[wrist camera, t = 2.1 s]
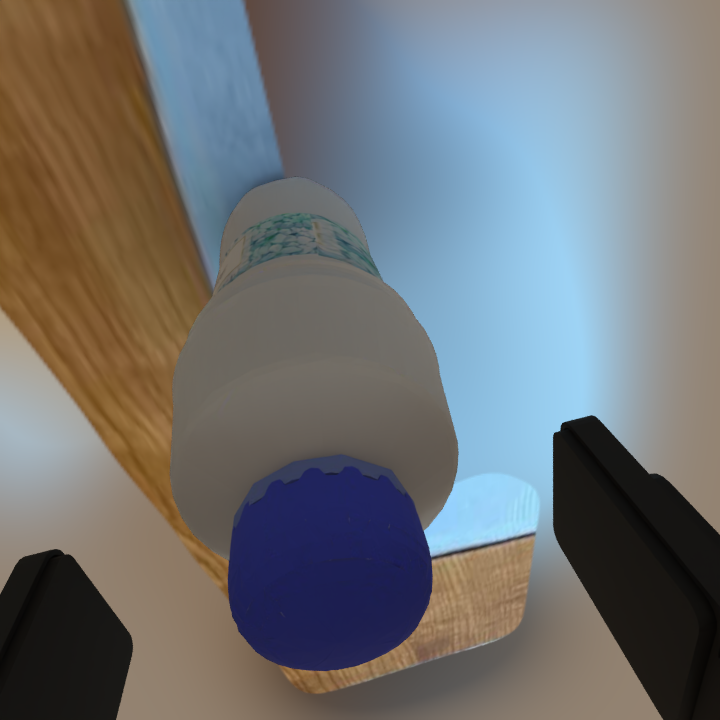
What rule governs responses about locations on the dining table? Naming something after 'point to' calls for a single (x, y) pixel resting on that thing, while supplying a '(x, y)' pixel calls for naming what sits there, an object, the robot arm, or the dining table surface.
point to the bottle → (311, 434)
